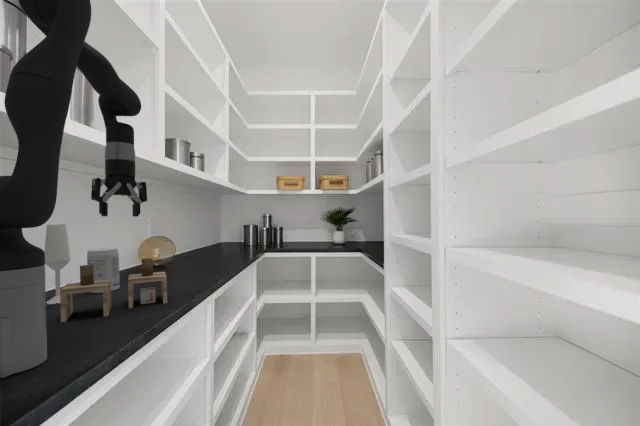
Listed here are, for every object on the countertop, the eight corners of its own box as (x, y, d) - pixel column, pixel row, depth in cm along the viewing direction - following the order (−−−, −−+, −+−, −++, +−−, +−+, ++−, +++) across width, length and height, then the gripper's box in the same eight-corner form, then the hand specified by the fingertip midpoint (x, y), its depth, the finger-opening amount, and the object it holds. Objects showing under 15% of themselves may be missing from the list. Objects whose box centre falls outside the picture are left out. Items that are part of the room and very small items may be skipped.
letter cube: (155, 302, 103) (155, 289, 103) (140, 304, 101) (140, 290, 101) (155, 299, 107) (154, 286, 107) (140, 301, 105) (140, 288, 105)
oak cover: (167, 303, 102) (166, 259, 102) (128, 308, 97) (127, 262, 97) (165, 296, 111) (164, 256, 111) (129, 300, 106) (128, 258, 106)
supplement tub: (111, 286, 129) (110, 247, 129) (125, 289, 124) (124, 248, 124) (82, 292, 120) (81, 250, 120) (96, 294, 115) (95, 251, 115)
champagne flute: (51, 299, 110) (49, 224, 110) (75, 297, 111) (73, 224, 112) (39, 304, 103) (38, 225, 103) (65, 302, 105) (63, 224, 105)
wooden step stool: (108, 316, 90) (107, 266, 90) (60, 322, 85) (59, 269, 85) (111, 307, 98) (110, 261, 98) (68, 312, 94) (67, 265, 94)
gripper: (99, 154, 91) (99, 216, 90) (151, 161, 103) (151, 216, 102) (86, 158, 95) (87, 216, 95) (138, 164, 107) (138, 216, 106)
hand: (120, 216), depth 98 cm, fingers open, 8 cm apart
